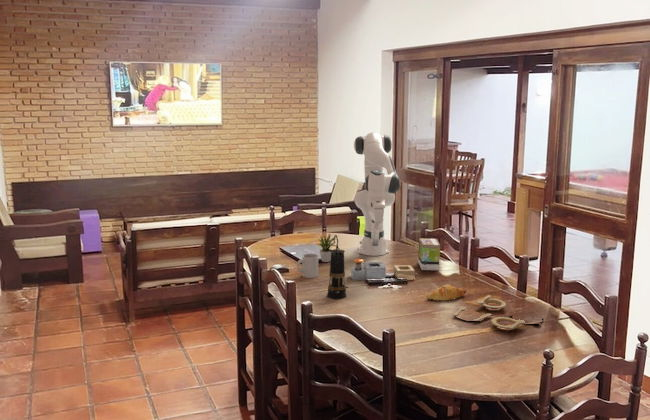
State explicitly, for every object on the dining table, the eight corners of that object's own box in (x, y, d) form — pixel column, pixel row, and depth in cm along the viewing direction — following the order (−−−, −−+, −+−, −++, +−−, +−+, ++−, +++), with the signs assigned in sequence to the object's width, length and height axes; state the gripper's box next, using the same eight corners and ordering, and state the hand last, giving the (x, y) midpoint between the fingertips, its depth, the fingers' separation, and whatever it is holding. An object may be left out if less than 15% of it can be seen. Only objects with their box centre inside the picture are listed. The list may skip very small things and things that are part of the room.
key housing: (350, 276, 325) (350, 267, 324) (363, 275, 325) (363, 266, 324) (352, 280, 318) (352, 270, 317) (365, 279, 319) (366, 270, 318)
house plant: (338, 265, 344) (339, 236, 341) (314, 264, 345) (314, 236, 341) (338, 258, 358) (339, 230, 355) (315, 257, 359) (315, 230, 355)
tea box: (439, 270, 336) (440, 244, 333) (421, 270, 336) (422, 244, 333) (435, 262, 350) (436, 237, 348) (417, 262, 351) (418, 237, 348)
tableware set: (445, 316, 270) (445, 307, 269) (480, 300, 290) (481, 292, 289) (518, 340, 246) (519, 330, 245) (551, 321, 266) (552, 312, 265)
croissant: (429, 309, 288) (433, 297, 283) (420, 293, 295) (424, 282, 290) (468, 303, 295) (472, 291, 290) (458, 288, 302) (462, 276, 297)
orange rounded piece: (352, 274, 324) (353, 258, 322) (362, 274, 324) (362, 258, 322) (354, 277, 319) (354, 261, 317) (363, 277, 319) (364, 261, 317)
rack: (393, 274, 328) (393, 265, 327) (410, 273, 329) (410, 265, 328) (397, 280, 319) (397, 270, 318) (414, 279, 320) (414, 270, 318)
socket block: (363, 274, 327) (363, 262, 325) (381, 274, 328) (382, 262, 326) (366, 280, 317) (366, 267, 316) (385, 280, 318) (385, 267, 317)
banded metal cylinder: (370, 244, 321) (371, 218, 318) (378, 244, 321) (378, 218, 318) (371, 246, 317) (372, 220, 314) (379, 246, 317) (380, 219, 314)
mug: (314, 272, 330) (314, 252, 328) (321, 276, 323) (321, 256, 321) (293, 275, 325) (293, 255, 323) (300, 279, 318) (300, 259, 316)
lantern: (349, 294, 296) (350, 234, 290) (340, 300, 288) (341, 238, 282) (333, 291, 300) (333, 232, 294) (323, 297, 292) (324, 236, 286)
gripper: (366, 197, 324) (366, 223, 327) (373, 205, 304) (372, 232, 307) (378, 197, 325) (377, 223, 328) (385, 205, 305) (385, 232, 308)
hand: (375, 227), depth 317 cm, fingers closed on banded metal cylinder, 4 cm apart
